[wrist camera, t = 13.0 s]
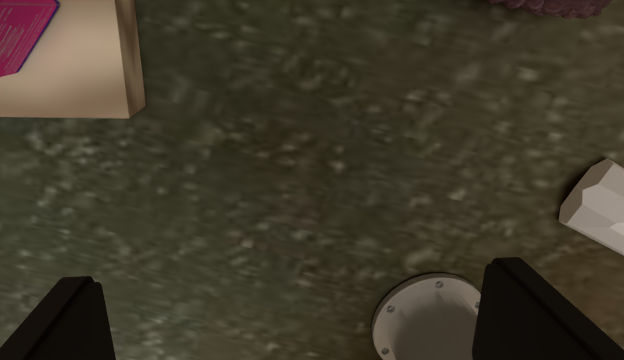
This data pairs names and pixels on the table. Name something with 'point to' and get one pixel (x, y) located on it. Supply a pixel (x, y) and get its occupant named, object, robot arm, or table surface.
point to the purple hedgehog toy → (557, 7)
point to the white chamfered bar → (598, 205)
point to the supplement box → (22, 30)
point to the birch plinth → (80, 65)
